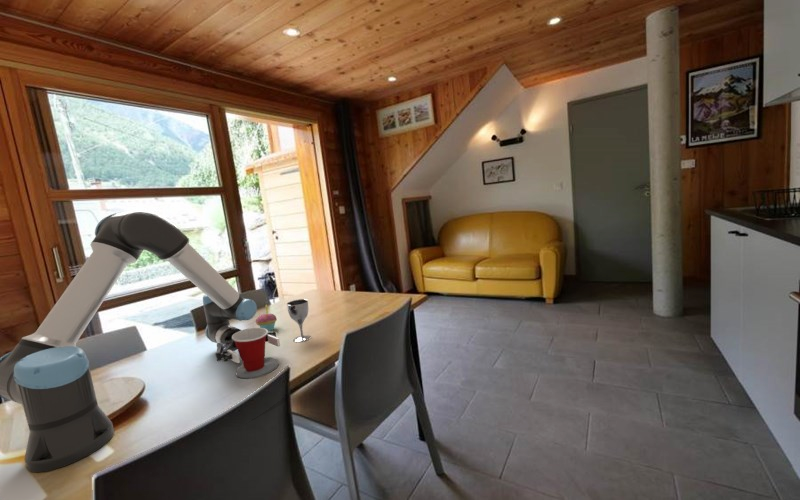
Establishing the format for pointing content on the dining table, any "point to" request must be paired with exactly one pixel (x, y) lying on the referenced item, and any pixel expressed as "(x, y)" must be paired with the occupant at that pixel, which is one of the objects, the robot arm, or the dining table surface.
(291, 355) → the dining table surface
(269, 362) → the coaster
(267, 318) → the cupcake
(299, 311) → the wine glass
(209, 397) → the dining table surface
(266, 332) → the plastic cup
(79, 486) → the dining table surface
